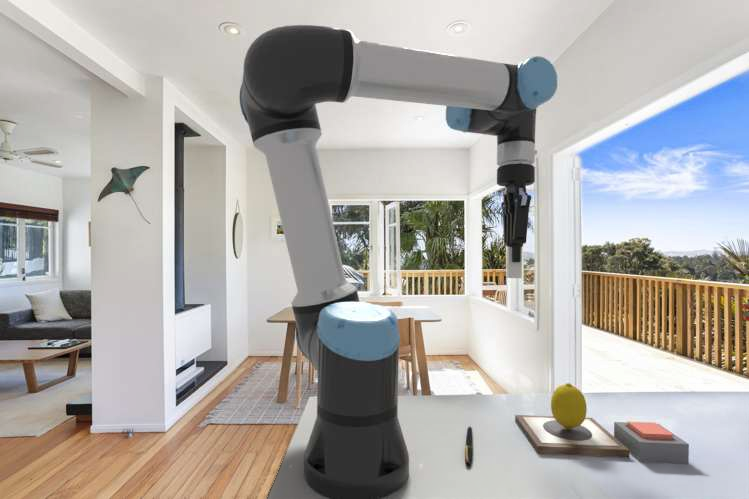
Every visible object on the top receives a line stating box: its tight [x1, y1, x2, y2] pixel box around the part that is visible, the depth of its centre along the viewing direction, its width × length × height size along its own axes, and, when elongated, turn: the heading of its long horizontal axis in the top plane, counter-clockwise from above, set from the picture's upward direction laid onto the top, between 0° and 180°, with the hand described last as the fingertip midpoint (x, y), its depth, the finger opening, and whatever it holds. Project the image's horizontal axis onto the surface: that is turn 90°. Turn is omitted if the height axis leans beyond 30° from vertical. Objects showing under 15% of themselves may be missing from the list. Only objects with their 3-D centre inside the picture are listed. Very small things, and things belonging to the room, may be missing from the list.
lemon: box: [550, 382, 588, 430], centre depth 69 cm, size 6×6×8 cm
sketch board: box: [514, 414, 630, 459], centre depth 69 cm, size 14×12×1 cm
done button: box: [626, 421, 674, 440], centre depth 65 cm, size 4×4×2 cm
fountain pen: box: [464, 425, 474, 468], centre depth 65 cm, size 14×1×2 cm, turn 165°
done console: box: [613, 421, 690, 465], centre depth 65 cm, size 7×7×3 cm
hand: (514, 277), depth 84 cm, fingers closed
